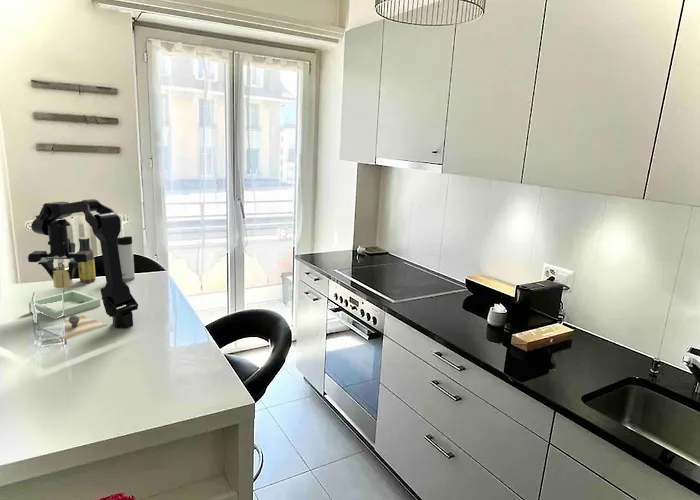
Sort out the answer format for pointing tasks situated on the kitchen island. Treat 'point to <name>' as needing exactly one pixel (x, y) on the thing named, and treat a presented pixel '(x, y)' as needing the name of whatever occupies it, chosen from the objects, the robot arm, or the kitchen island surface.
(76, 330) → the stud plate
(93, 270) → the sauce bottle
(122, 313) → the robot arm
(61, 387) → the kitchen island surface
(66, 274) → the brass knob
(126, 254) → the travel mug
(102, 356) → the kitchen island surface
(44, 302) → the bin
